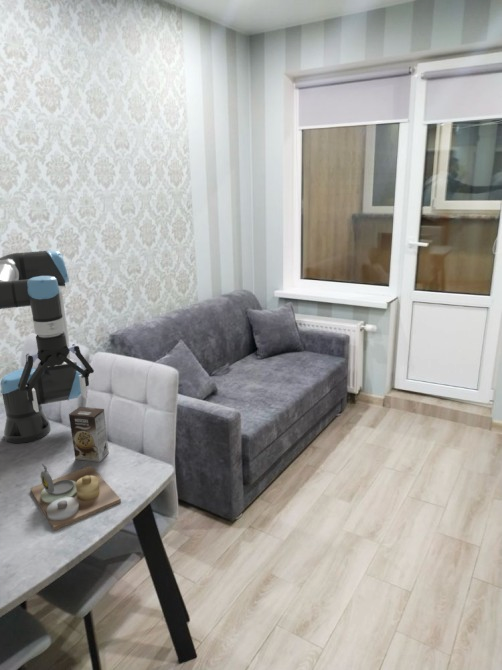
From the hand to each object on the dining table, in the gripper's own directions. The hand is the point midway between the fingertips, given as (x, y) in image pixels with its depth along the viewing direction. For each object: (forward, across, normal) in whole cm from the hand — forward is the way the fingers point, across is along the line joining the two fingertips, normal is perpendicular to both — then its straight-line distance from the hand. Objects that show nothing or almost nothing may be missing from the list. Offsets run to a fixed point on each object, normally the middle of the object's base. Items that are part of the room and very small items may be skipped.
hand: (61, 403), depth 137 cm
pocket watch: (+23, -6, -8) cm, 25 cm away
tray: (+24, -3, -11) cm, 27 cm away
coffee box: (+25, +9, +8) cm, 28 cm away
